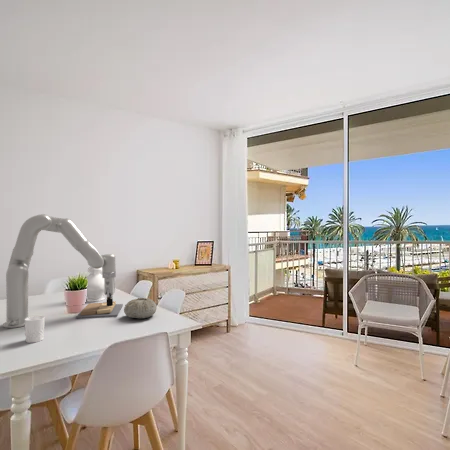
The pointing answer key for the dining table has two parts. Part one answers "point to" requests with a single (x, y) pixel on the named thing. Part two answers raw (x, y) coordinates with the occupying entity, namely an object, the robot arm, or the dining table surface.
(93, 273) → the decorative vase
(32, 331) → the white cup
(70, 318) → the dining table surface
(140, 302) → the decorative shell
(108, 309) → the board
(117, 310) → the floor board
